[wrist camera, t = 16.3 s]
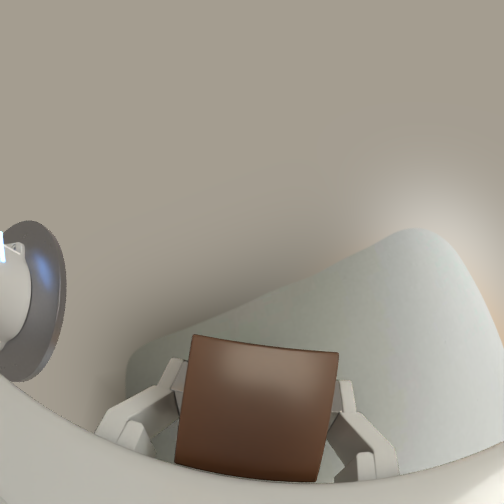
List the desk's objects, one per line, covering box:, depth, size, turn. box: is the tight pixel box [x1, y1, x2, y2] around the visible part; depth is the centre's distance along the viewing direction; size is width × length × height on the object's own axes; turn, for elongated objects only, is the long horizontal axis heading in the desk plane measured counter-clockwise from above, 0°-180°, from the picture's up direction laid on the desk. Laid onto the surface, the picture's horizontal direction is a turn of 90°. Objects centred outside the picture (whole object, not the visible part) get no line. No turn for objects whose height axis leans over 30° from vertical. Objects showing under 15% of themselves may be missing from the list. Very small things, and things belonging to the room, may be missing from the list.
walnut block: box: [174, 334, 339, 482], centre depth 10 cm, size 4×4×8 cm
